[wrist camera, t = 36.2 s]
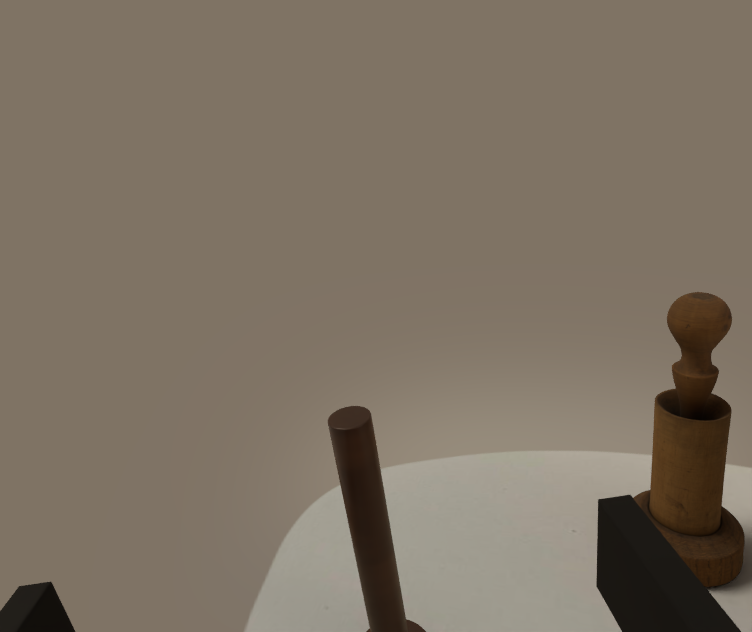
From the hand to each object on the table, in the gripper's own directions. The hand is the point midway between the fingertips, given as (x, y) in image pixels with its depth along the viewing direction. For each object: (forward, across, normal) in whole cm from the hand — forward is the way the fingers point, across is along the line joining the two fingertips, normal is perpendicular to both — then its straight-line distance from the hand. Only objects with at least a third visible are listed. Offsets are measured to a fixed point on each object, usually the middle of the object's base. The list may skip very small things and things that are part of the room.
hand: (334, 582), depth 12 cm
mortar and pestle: (+16, +20, -19) cm, 32 cm away
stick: (+10, 0, -19) cm, 21 cm away
